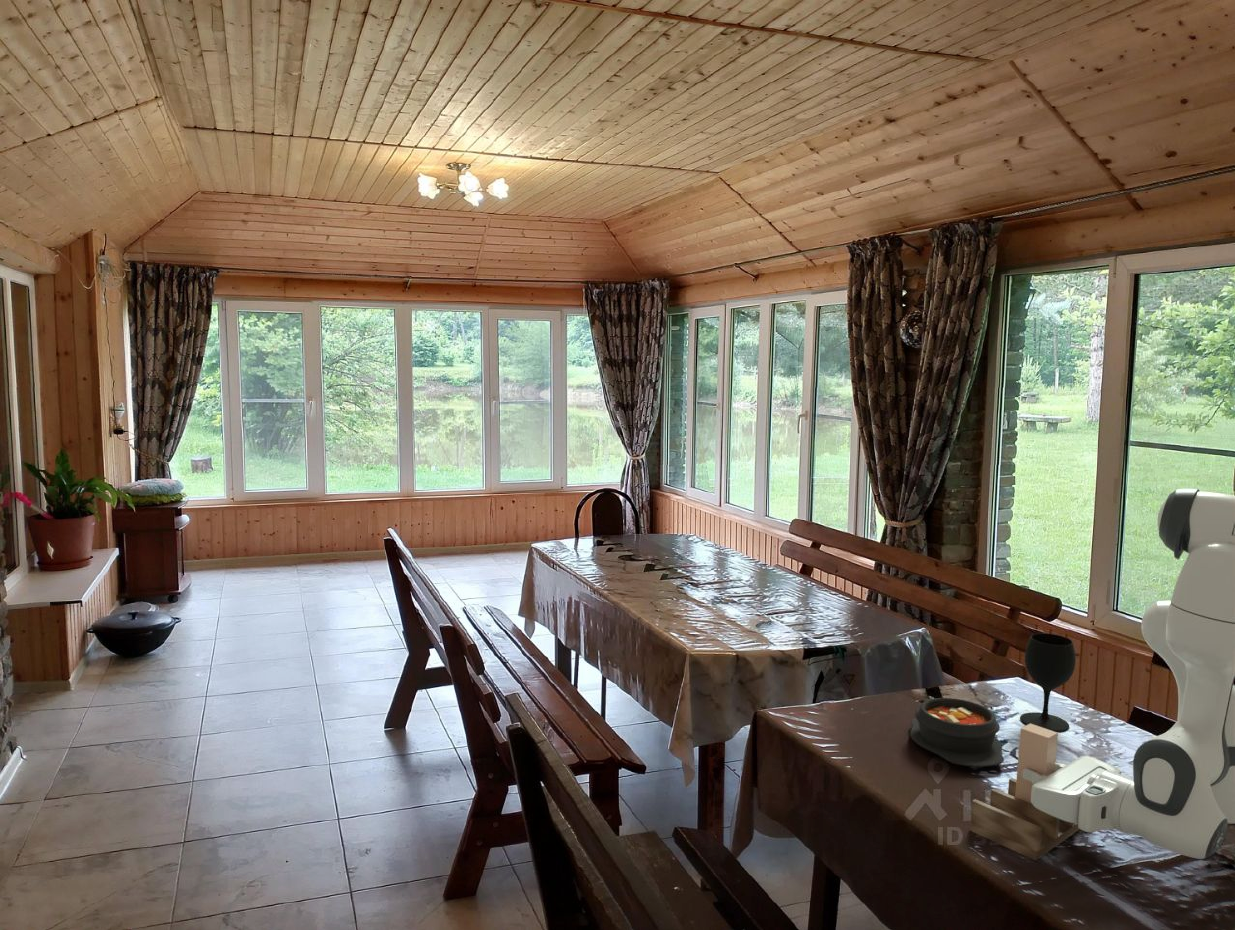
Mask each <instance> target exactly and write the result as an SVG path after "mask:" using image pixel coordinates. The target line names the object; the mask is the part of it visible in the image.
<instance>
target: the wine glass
mask: <svg viewBox="0 0 1235 930" xmlns="http://www.w3.org/2000/svg"><path fill="white" fill-rule="evenodd" d="M1024 652H1025V653H1024V664H1025V667H1026V671H1027V673H1028V674H1029V676H1030V678H1031V679H1032V680H1033V681H1034V682H1035V683H1036V684H1037V685H1038V686H1040V688H1041V689H1043V708H1042V712H1038V711H1036V712H1034V711H1033V712H1025V713H1022V714H1021V715H1020V717H1019V719H1020V721H1021V723H1023V725H1024V726H1026V725H1028V724H1030V723H1031V724H1033V725H1036V726H1039V727H1042V728H1045V729H1048V730H1051V731H1054V732H1057V733H1064V732H1066V731H1068V730H1069V729H1070V724H1069V723H1068V722H1067V721H1066V720H1065V719H1063V718H1062V717H1059V716H1058V715H1057V716H1056V715H1053V714H1050V713H1049V701H1050V696H1051V692H1052V691H1053V690H1055V689H1057V688H1059V687H1061V686H1063V685H1065V684H1066V683H1067V682H1068V681H1069V680H1070V678H1071V677H1072V676H1073V674H1074V671H1075V668H1076V651H1075V646H1074V642H1073V640H1071V639H1070V638H1068V637H1066V636H1063V635H1058V634H1054V633H1045V632H1044V633H1042V632H1041V633H1040V632H1039V633H1038V632H1037V633H1033V634H1031V635H1030V637H1029V639H1028V642H1027V644H1026V647H1025V651H1024Z"/></svg>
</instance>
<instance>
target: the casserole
mask: <svg viewBox="0 0 1235 930" xmlns="http://www.w3.org/2000/svg"><path fill="white" fill-rule="evenodd" d="M914 715H915V717H914V718H912V719H911V729H910V731H909V732H910V733H909V734H910V737H911V739H912V740H913V741H914V742H915V743H916V745H918V746H920V747H922V748H923V749H925V750H926V751H929V752H930V753H934V755H935V754H936V755H938V756H939V757H941V758H943V759H945V760H946V761H948V762H949V763H952V764H954V765H958V766H965V767H976V768H982V767H983V768H985V767H995V766H998V765H1001V764H1003V763H1004V761H1005V760H1004V759H1005V758H1004V756H1003V754H1002V753H1003V745H1002V742H1001V741H1000V740H999V739H998V738H997V737H996V734H997V733H998V732H999V731H1000V728H1001V726H1000V724H999V722H998V721H997V719H996V716H995V713H993V711H992V710H991V709H989V708H987V707H986V706H983V705H981V704H978V703H976V702H973V701H968V700H964V699H958V698H952V697H949V698H948V697H937V698H935V697H934V698H930V699H927V700H925V701H923V702H922V703H921V705H920V707H919V708H918V709H917V710H916V711H915V714H914Z"/></svg>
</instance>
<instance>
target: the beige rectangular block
mask: <svg viewBox="0 0 1235 930" xmlns="http://www.w3.org/2000/svg"><path fill="white" fill-rule="evenodd" d="M1058 736H1059V732H1054V731H1051V730H1048V729H1045V728H1042V727H1039V726H1036V725H1033V724H1031V723H1030V724H1028V725H1024V726H1023V727H1021V728H1020V731H1019V743H1018V744H1019V745H1018V756H1017V757H1018V758H1017V769H1016V770H1017V771H1016V792H1015V797H1016V798H1019V799H1021V800H1024V801H1026V802H1029V803H1031V791H1032V786H1033V785H1034V784H1033V783H1032V782H1030V781H1028V780H1025V779H1024V778H1023V777H1022V773H1023V770H1024V769H1026V768H1028V767H1029V768H1031V769H1034V770H1036V773H1038V774H1039V775H1041V776H1042V775H1045V776H1049V775H1051V774H1052V773H1054V772H1055V763H1056V758H1057V751H1058V749H1057V747H1058ZM1031 804H1032V803H1031Z"/></svg>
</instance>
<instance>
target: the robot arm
mask: <svg viewBox="0 0 1235 930" xmlns="http://www.w3.org/2000/svg"><path fill="white" fill-rule="evenodd" d="M1157 529H1158V536H1159V538H1160V540H1161V541H1162V542H1163V544H1164V546H1165V547H1166V548H1168V549H1169V550H1170V551H1172V552H1173V557H1174V558H1175V559H1176V560H1180V559H1181V556H1182V554H1183V553H1184V552H1185V553H1187V554H1188V555H1187V557H1186V559H1185V561H1184V563H1183V565H1182V567H1181V570H1180V572H1179V574H1178V578H1177V580H1176V582H1175V586H1174V589H1173V592H1172V595H1171V599H1166V600H1165V599H1164V600H1156V601H1154V602H1153V603H1151V604H1150V605H1149V606H1148V607H1147V608H1146V610H1145V611H1144V613H1143V615H1142V618H1141V632H1142V636H1143V638H1144V641H1145V642H1146V643H1147V645H1148V647H1150V648H1151V650H1152V651H1154V652H1155V653H1156V654H1157V655H1159V657H1160V658H1162V659H1163V661H1164V662H1165V663H1166V664H1167V666H1168V667H1169V669H1170V670H1171V672H1172V674H1173V676H1174V679H1175V681H1176V686H1177V694H1178V696H1177V697H1178V709H1177V720H1176V722H1175V723H1174V724H1173V725H1172V727H1170V728H1169V729H1168V730H1167V731H1166V732H1164V733H1162V734H1159V735H1156V736H1154V737H1152V738H1150V739H1148V740H1147V741H1144V742H1143V743H1142V744H1141V745H1140V746H1138V748H1137V749H1136V750H1135V752H1134V755H1133V760H1132V762H1133V763H1132V765H1133V766H1132V774H1133V775H1132V776H1133V777H1130V776H1128V775H1126V774H1123V773H1122V770H1121V769H1119V768H1118V767H1116V766H1115V765H1112V764H1110V763H1107V762H1106V761H1103V760H1100V759H1099V758H1095V757H1092V756H1090V755H1081V756H1079V757H1078V758H1076V759H1074V760H1073V761H1070V762H1069V763H1067V764H1065V763H1061V762H1055V772H1054V773H1052V774H1051V775H1049V776H1045V775H1042V776H1041V775H1039V774H1038V773H1036V770H1034V769H1031V768H1029V767H1028V768H1026V769H1024V770H1023V773H1022V777H1023V778H1024V779H1025V780H1028V781H1030V782H1032V783H1033V784H1034V785H1033V786H1032V791H1031V803H1032V805H1033V806H1034V807H1035V808H1037V809H1038V810H1040V811H1042V812H1044V813H1047V814H1049V815H1051V816H1053V817H1056V818H1058V819H1061V820H1063V821H1066V822H1070V823H1078V828H1079V830H1080V831H1083V832H1087V833H1095V832H1100V831H1114V830H1116V831H1118V832H1121V833H1123V834H1127V835H1134V836H1138V837H1140V838H1142V839H1144V840H1146V841H1147V842H1148V843H1150V844H1151V845H1154V846H1157V847H1159V848H1160V849H1161V848H1162V849H1164V850H1167V851H1170V852H1173V853H1175V854H1179V855H1182V856H1184V857H1185V856H1186V857H1189V858H1194V859H1197V860H1204V859H1208V858H1209V857H1211V856H1212V855H1214V854H1215V853H1216V852H1218V850H1219V849H1220V847H1221V845H1222V844H1223V842H1224V840H1225V837H1226V834H1227V832H1228V828H1229V827H1228V826H1229V824H1232V825H1233V824H1235V684H1234V681H1235V494H1229V493H1223V492H1213V491H1201V490H1200V489H1198V488H1178V489H1176V490H1174V491H1172V492H1171V493H1169V494H1168V497H1167V498H1166V499H1165V500H1164V501H1163V503H1162V504H1161V506H1160V508H1159V510H1158V514H1157Z"/></svg>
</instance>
